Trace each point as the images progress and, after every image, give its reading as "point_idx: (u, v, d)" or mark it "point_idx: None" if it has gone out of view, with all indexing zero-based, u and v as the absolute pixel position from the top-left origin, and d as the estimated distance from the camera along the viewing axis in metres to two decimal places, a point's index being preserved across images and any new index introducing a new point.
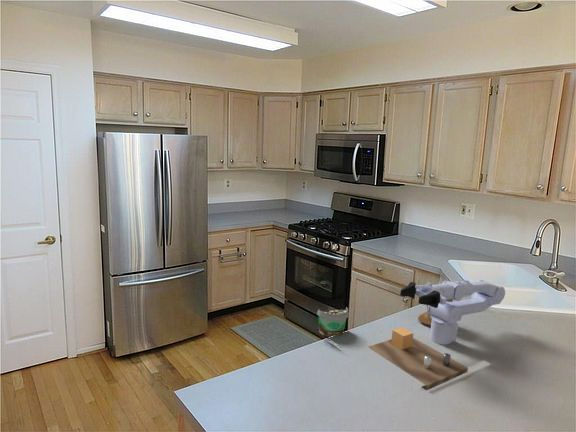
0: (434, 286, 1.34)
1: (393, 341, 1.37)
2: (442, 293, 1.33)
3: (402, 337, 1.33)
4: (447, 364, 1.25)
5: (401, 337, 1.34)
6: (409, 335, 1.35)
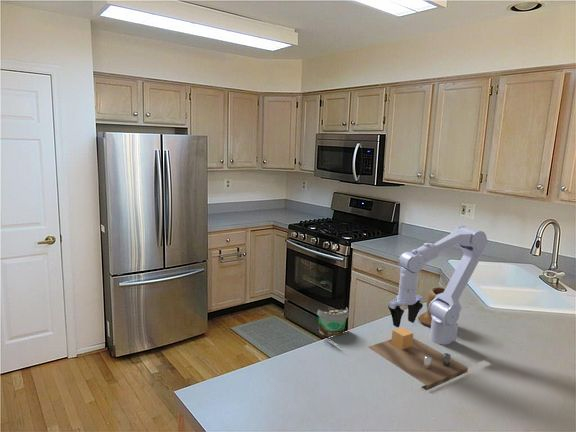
0: None
1: (393, 341, 1.37)
2: (400, 288, 1.33)
3: (402, 337, 1.33)
4: (447, 364, 1.25)
5: (401, 337, 1.34)
6: (409, 335, 1.35)
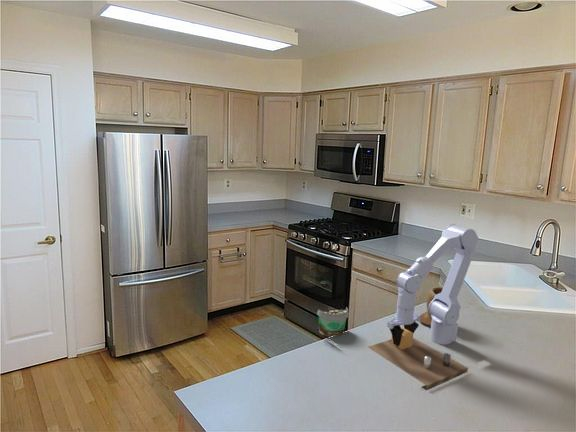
0: None
1: None
2: (398, 308, 1.34)
3: (402, 337, 1.33)
4: (447, 364, 1.25)
5: (401, 337, 1.34)
6: (409, 335, 1.35)
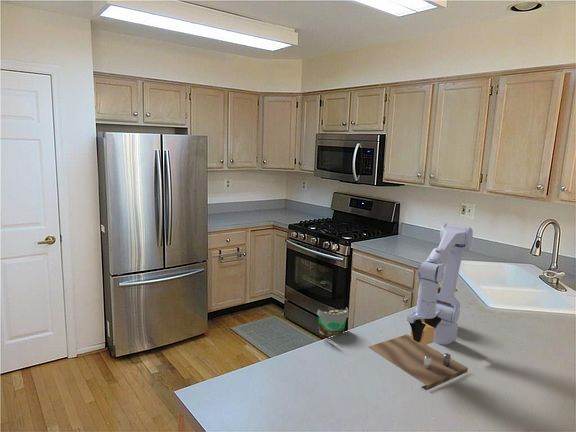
0: None
1: (412, 337, 1.26)
2: (419, 301, 1.22)
3: (423, 332, 1.22)
4: (447, 364, 1.25)
5: (422, 333, 1.22)
6: (430, 330, 1.23)
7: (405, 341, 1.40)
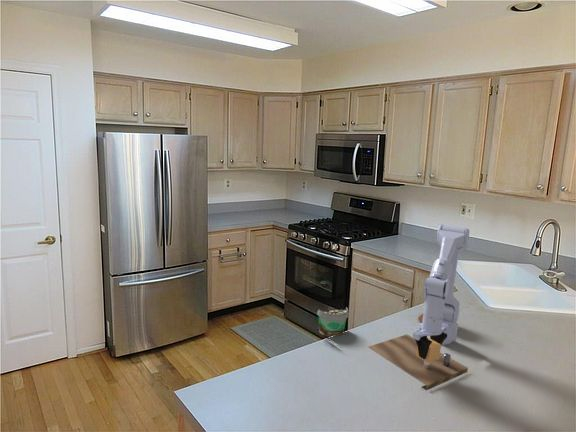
0: None
1: (418, 353, 1.23)
2: (425, 317, 1.20)
3: (429, 349, 1.19)
4: (447, 364, 1.25)
5: (428, 349, 1.20)
6: (436, 347, 1.20)
7: (405, 341, 1.40)
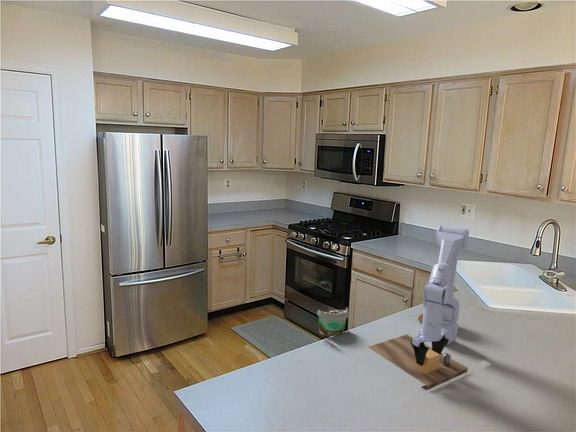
0: None
1: None
2: (424, 323, 1.20)
3: (428, 359, 1.20)
4: (447, 364, 1.25)
5: (427, 360, 1.20)
6: (435, 357, 1.21)
7: (405, 341, 1.40)
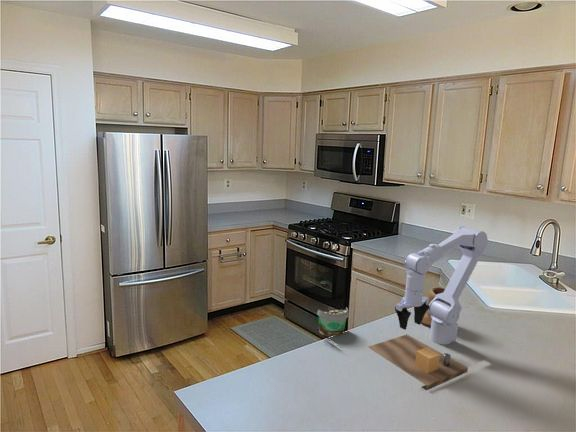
0: None
1: (417, 363, 1.23)
2: (407, 290, 1.31)
3: (428, 359, 1.20)
4: (447, 364, 1.25)
5: (427, 360, 1.20)
6: (435, 357, 1.21)
7: (405, 341, 1.40)
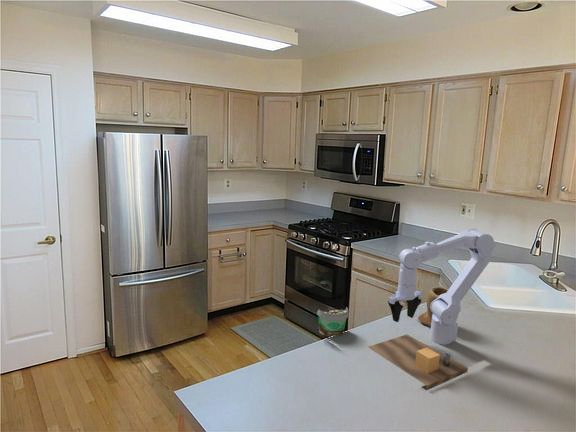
0: None
1: (417, 363, 1.23)
2: (399, 284, 1.37)
3: (428, 359, 1.20)
4: (447, 364, 1.25)
5: (427, 360, 1.20)
6: (435, 357, 1.21)
7: (405, 341, 1.40)
